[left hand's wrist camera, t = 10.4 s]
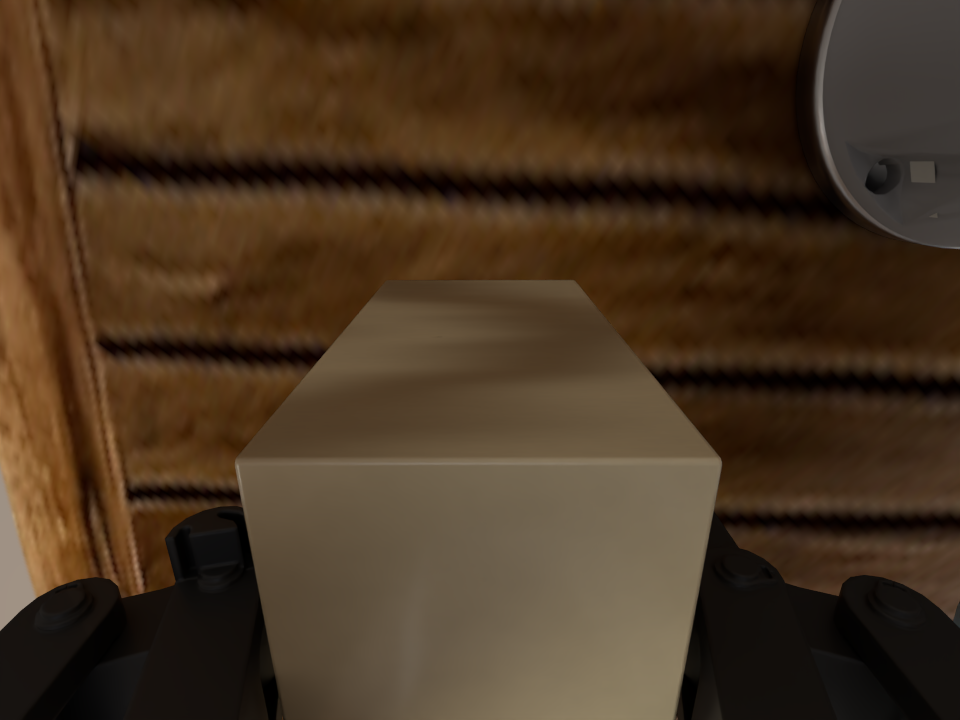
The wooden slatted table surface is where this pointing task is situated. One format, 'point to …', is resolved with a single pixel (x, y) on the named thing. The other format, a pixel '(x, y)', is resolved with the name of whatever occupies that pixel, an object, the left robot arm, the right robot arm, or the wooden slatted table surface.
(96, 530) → the wooden slatted table surface
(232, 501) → the wooden slatted table surface
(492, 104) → the wooden slatted table surface
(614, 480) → the birch rail
